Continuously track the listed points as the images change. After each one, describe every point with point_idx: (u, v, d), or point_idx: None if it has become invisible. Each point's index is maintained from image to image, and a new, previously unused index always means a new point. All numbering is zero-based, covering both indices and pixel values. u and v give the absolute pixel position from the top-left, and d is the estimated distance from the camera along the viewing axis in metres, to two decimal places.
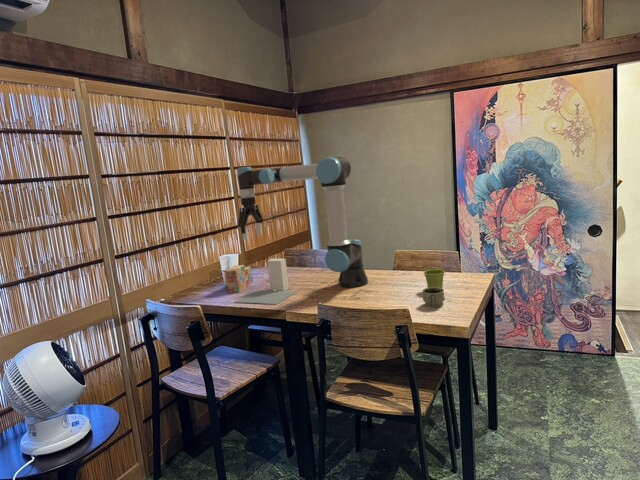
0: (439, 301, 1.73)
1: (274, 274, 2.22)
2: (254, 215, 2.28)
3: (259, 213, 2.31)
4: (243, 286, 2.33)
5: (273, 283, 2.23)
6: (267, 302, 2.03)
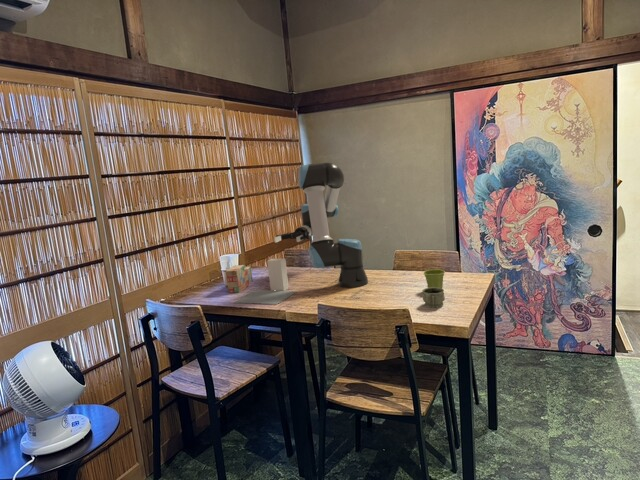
0: (439, 301, 1.73)
1: (274, 274, 2.22)
2: (300, 235, 2.40)
3: (306, 233, 2.39)
4: (243, 286, 2.34)
5: (273, 283, 2.23)
6: (267, 302, 2.03)
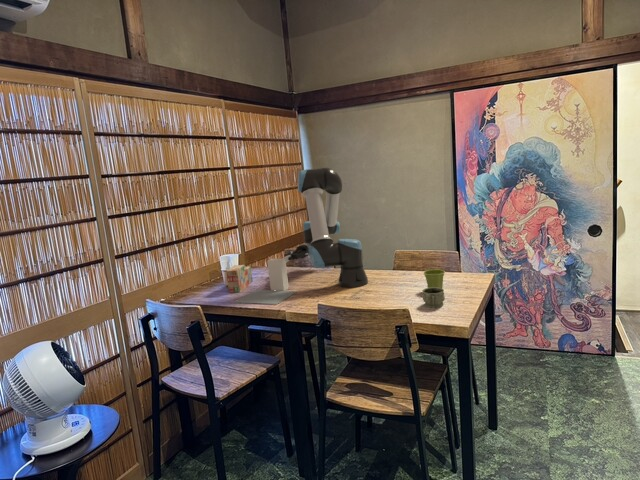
0: (439, 301, 1.73)
1: (274, 274, 2.22)
2: None
3: (300, 253, 2.40)
4: (243, 286, 2.34)
5: (273, 283, 2.23)
6: (267, 302, 2.03)
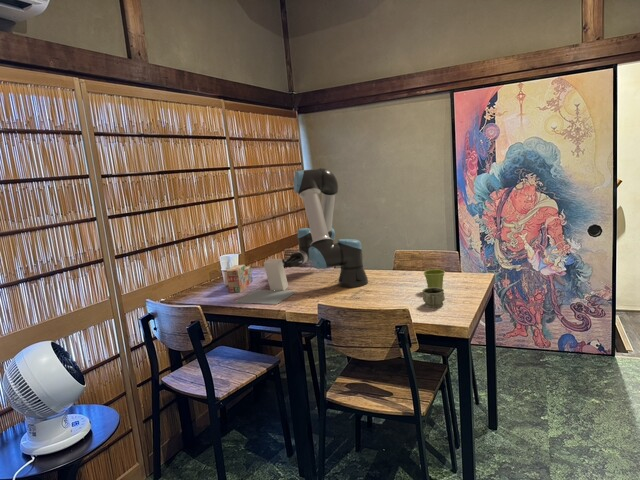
0: (439, 301, 1.73)
1: (272, 275, 2.20)
2: None
3: (294, 261, 2.34)
4: (244, 286, 2.34)
5: (272, 284, 2.22)
6: (267, 302, 2.03)
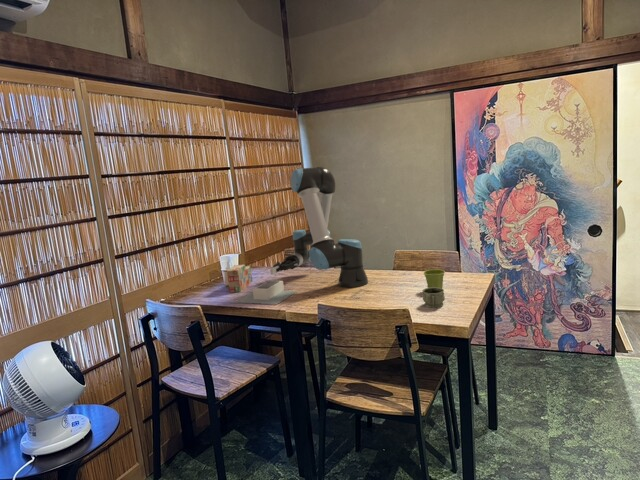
0: (439, 301, 1.73)
1: None
2: None
3: (289, 263, 2.27)
4: (244, 285, 2.34)
5: None
6: (267, 302, 2.03)
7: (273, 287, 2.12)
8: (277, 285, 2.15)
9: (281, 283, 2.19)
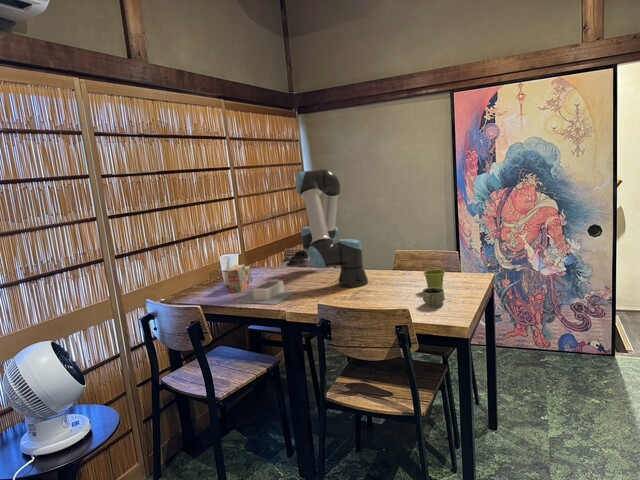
0: (439, 301, 1.73)
1: None
2: None
3: (299, 258, 2.38)
4: (244, 285, 2.35)
5: None
6: (267, 302, 2.03)
7: (273, 287, 2.12)
8: (277, 285, 2.15)
9: (281, 283, 2.19)
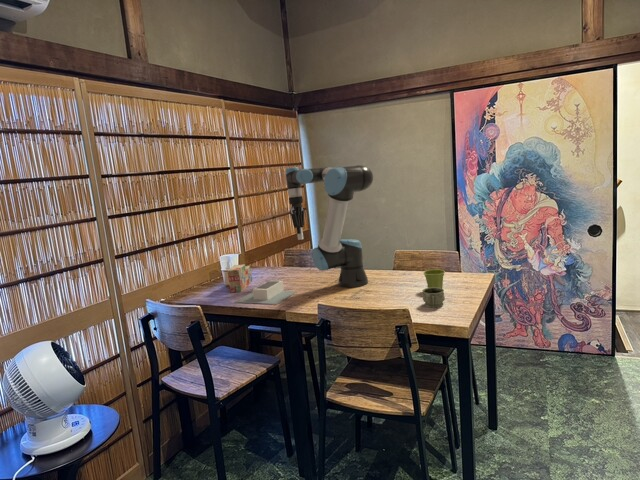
0: (439, 301, 1.73)
1: None
2: None
3: (303, 216, 2.37)
4: (244, 285, 2.35)
5: None
6: (267, 302, 2.03)
7: (273, 287, 2.12)
8: (277, 285, 2.15)
9: (281, 283, 2.19)
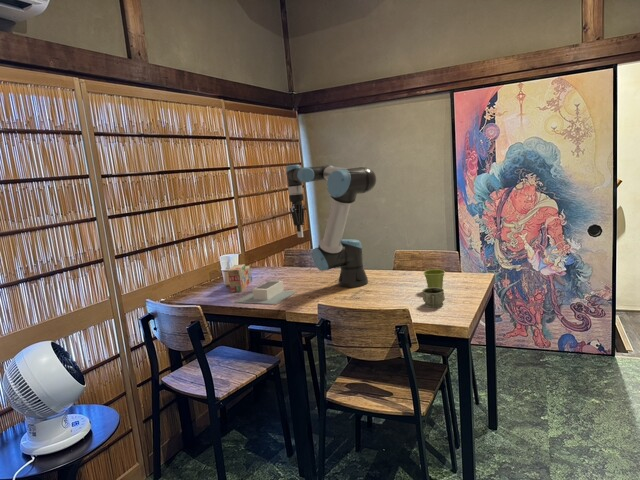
0: (439, 301, 1.73)
1: None
2: None
3: (303, 213, 2.36)
4: (244, 285, 2.35)
5: None
6: (267, 302, 2.03)
7: (273, 287, 2.12)
8: (277, 285, 2.15)
9: (281, 283, 2.19)
